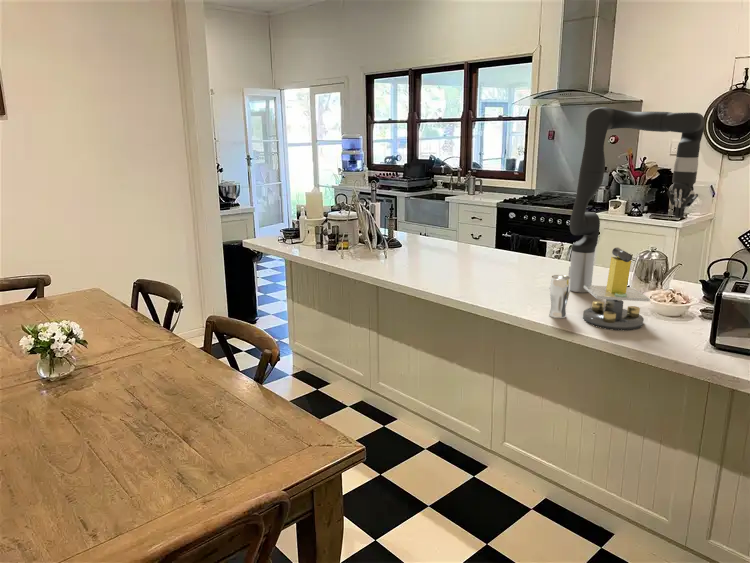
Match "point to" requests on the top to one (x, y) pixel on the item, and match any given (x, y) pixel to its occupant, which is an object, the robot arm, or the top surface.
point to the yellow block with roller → (617, 280)
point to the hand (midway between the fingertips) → (678, 217)
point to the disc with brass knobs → (613, 315)
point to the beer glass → (559, 295)
